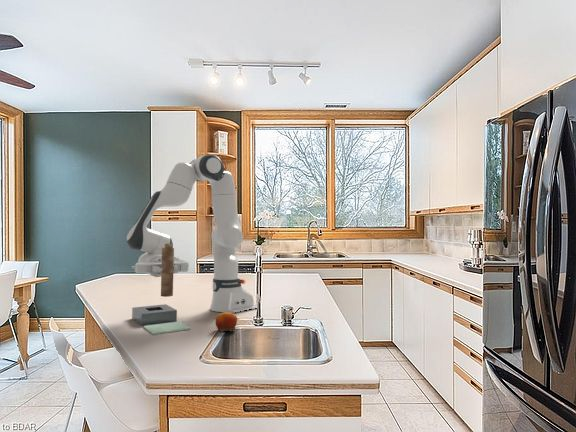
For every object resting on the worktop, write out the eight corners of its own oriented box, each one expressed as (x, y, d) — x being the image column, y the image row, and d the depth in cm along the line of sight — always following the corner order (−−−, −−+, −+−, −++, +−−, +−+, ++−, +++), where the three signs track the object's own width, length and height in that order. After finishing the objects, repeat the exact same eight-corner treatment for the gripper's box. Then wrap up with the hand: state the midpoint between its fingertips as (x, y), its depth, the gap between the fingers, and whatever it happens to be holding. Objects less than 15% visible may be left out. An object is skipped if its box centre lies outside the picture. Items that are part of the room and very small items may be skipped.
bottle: (170, 294, 164) (171, 243, 164) (174, 296, 160) (175, 244, 161) (159, 295, 162) (160, 243, 162) (162, 297, 158) (164, 244, 158)
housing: (165, 314, 184) (165, 304, 184) (176, 321, 172) (176, 310, 172) (132, 318, 176) (132, 307, 176) (141, 325, 165) (141, 314, 165)
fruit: (217, 331, 153) (216, 309, 157) (215, 337, 159) (214, 316, 163) (239, 330, 155) (238, 308, 159) (236, 336, 161) (235, 315, 165)
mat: (179, 322, 170) (179, 321, 170) (190, 329, 160) (190, 328, 160) (143, 327, 162) (143, 325, 162) (152, 334, 152) (153, 333, 152)
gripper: (130, 258, 166) (140, 262, 155) (181, 257, 178) (193, 260, 166) (130, 274, 166) (139, 279, 155) (181, 272, 177) (193, 276, 166)
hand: (168, 269), depth 160 cm, fingers closed on bottle, 4 cm apart
